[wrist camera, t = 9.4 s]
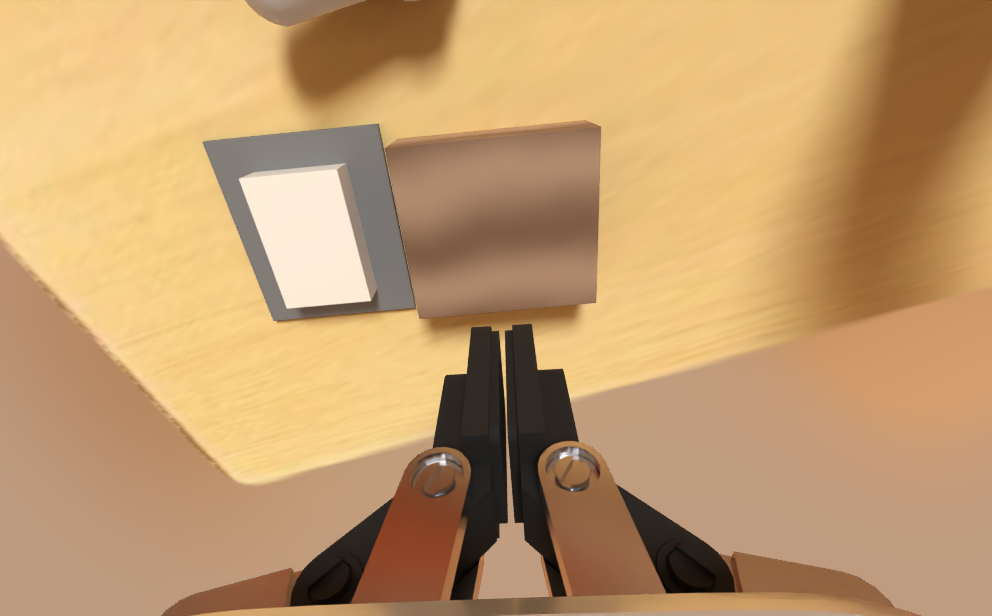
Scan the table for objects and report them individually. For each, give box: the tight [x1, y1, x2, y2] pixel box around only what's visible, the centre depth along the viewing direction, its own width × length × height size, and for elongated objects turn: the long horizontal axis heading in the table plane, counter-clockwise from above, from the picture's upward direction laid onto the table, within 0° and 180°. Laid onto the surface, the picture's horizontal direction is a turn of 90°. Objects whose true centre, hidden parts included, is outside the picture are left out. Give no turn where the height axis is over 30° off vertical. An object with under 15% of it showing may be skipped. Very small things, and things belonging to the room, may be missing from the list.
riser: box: [385, 120, 601, 319], centre depth 28 cm, size 11×12×4 cm
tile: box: [239, 163, 377, 309], centre depth 28 cm, size 9×6×2 cm, turn 5°
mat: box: [203, 124, 416, 321], centre depth 29 cm, size 13×11×1 cm
